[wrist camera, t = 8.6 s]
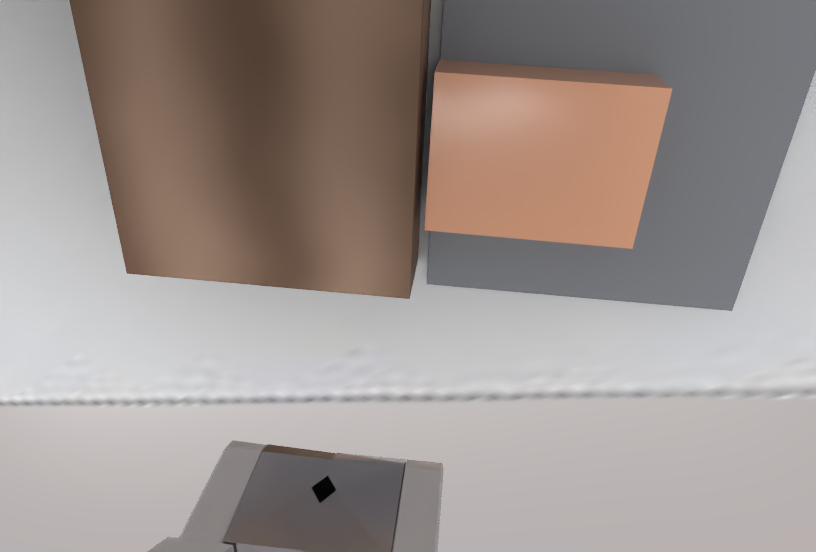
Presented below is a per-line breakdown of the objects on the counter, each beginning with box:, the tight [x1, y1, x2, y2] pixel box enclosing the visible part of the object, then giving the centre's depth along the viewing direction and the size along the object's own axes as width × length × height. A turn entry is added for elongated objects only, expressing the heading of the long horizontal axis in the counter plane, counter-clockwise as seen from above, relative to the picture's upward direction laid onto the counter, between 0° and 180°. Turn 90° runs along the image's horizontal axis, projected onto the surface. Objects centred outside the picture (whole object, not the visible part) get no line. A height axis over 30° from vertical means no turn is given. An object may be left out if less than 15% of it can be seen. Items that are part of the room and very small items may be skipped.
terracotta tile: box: [424, 60, 673, 249], centre depth 23 cm, size 8×6×2 cm
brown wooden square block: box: [70, 0, 431, 299], centre depth 24 cm, size 12×12×4 cm
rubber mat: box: [427, 0, 816, 311], centre depth 24 cm, size 14×16×1 cm
